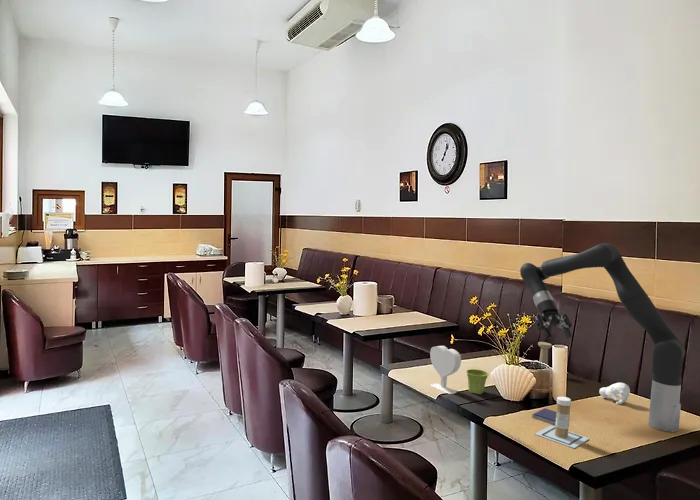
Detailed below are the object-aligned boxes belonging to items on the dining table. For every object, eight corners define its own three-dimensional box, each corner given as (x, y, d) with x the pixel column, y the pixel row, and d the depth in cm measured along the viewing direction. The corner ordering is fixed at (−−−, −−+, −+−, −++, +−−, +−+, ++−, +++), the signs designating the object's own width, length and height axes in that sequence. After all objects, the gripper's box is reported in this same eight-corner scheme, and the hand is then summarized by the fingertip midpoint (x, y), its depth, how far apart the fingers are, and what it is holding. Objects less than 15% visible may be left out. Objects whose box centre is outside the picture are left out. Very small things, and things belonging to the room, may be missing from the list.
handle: (544, 376, 255) (547, 345, 254) (534, 372, 261) (536, 342, 259) (551, 374, 257) (553, 344, 256) (540, 371, 263) (542, 341, 262)
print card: (589, 439, 185) (589, 438, 184) (574, 448, 176) (574, 447, 176) (550, 425, 195) (550, 424, 195) (534, 434, 186) (534, 433, 186)
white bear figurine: (624, 385, 218) (595, 380, 227) (624, 406, 218) (596, 400, 227) (631, 383, 221) (603, 377, 231) (632, 403, 221) (603, 397, 231)
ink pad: (566, 418, 203) (567, 414, 202) (554, 425, 196) (554, 421, 196) (544, 411, 209) (544, 407, 209) (531, 417, 202) (532, 413, 202)
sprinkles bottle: (557, 431, 189) (560, 395, 188) (570, 435, 186) (573, 398, 185) (552, 435, 186) (555, 398, 185) (565, 439, 183) (568, 401, 181)
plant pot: (479, 387, 234) (480, 368, 234) (491, 395, 225) (492, 375, 225) (460, 389, 231) (462, 369, 231) (472, 396, 222) (473, 376, 222)
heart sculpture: (460, 393, 226) (463, 351, 225) (451, 395, 223) (454, 353, 222) (435, 382, 239) (437, 343, 237) (427, 384, 236) (429, 344, 235)
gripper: (533, 298, 217) (548, 333, 207) (564, 298, 220) (580, 332, 210) (525, 309, 223) (539, 342, 212) (555, 309, 226) (570, 342, 216)
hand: (559, 337), depth 211 cm, fingers open, 8 cm apart
